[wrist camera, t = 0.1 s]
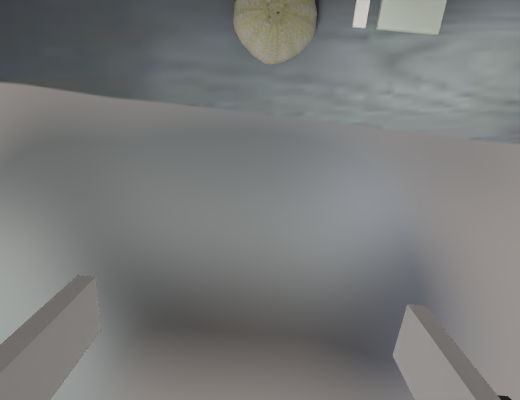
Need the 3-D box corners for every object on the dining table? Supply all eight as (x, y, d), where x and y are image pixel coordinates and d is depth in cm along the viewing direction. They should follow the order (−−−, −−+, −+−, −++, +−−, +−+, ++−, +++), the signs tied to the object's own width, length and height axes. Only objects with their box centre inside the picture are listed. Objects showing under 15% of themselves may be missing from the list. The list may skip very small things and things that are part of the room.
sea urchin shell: (324, -41, 30) (327, 4, 27) (309, 33, 37) (309, 76, 34) (236, -50, 30) (226, -6, 26) (237, 26, 37) (230, 69, 34)
